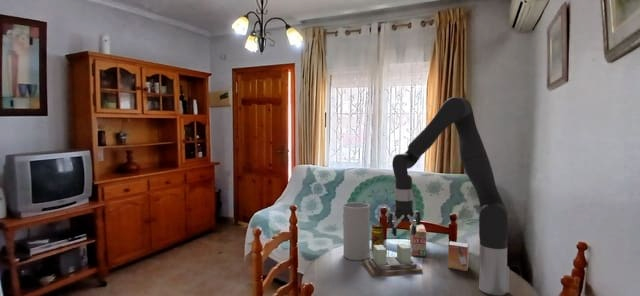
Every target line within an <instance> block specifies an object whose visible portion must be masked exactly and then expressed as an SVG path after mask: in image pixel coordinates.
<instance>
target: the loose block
mask: <svg viewBox="0 0 640 296" xmlns="http://www.w3.org/2000/svg"><path fill="white" fill-rule="evenodd" d="M396 257H397V261H398V262H399V263H400V264H411V259H412V248H411V246H409V245H408V244H407V243H397V244H396Z"/></svg>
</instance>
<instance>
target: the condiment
mask: <svg viewBox="0 0 640 296" xmlns="http://www.w3.org/2000/svg"><path fill="white" fill-rule="evenodd" d="M373 245H383V246H384V247H385V248H387V245H386V244H385V245H384V230H383V225H382V224H380V223H379V224H372V226H371V246H370V250H372V251H373Z"/></svg>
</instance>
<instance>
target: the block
mask: <svg viewBox="0 0 640 296" xmlns="http://www.w3.org/2000/svg"><path fill="white" fill-rule="evenodd" d="M383 245H384V244H383ZM383 245H373V250H372V251H373V257H372V258H373V263H374V264H375V265H376V266H383V265H387V257H388V255H387V251H388V250H387V247H384V246H383Z"/></svg>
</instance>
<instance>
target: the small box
mask: <svg viewBox="0 0 640 296" xmlns="http://www.w3.org/2000/svg"><path fill="white" fill-rule="evenodd" d="M469 247H470V245H469V243H464V242H457V241H451V240H450V241H449V243H448V247H447V249H448V251H447V254H448V255H447V258H448V259H447V268H448V269H449V268H450V269H455V270H459V271H464V272H465V271H466V272H468V270H469V269H468V268H469Z"/></svg>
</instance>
